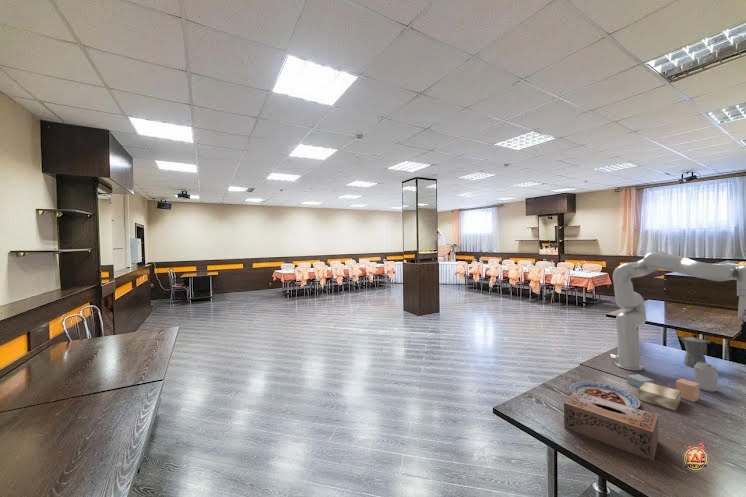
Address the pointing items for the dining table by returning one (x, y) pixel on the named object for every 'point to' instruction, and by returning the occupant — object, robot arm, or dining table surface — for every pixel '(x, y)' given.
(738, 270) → the robot arm
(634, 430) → the tissue box cover
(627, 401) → the ceramic plate
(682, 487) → the dining table surface
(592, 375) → the dining table surface
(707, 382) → the can
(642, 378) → the slate block
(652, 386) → the beech block
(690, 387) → the terracotta cube
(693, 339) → the coffeepot
